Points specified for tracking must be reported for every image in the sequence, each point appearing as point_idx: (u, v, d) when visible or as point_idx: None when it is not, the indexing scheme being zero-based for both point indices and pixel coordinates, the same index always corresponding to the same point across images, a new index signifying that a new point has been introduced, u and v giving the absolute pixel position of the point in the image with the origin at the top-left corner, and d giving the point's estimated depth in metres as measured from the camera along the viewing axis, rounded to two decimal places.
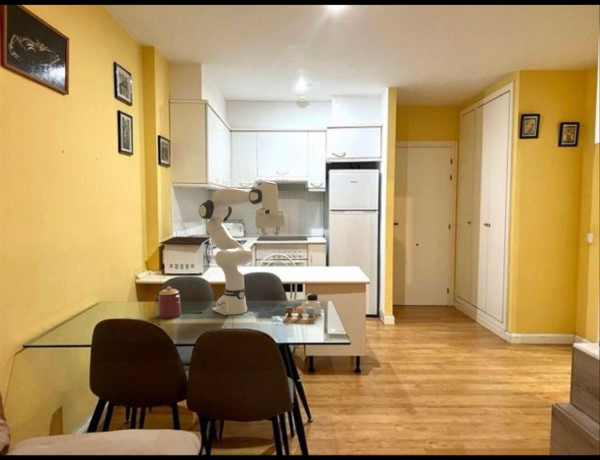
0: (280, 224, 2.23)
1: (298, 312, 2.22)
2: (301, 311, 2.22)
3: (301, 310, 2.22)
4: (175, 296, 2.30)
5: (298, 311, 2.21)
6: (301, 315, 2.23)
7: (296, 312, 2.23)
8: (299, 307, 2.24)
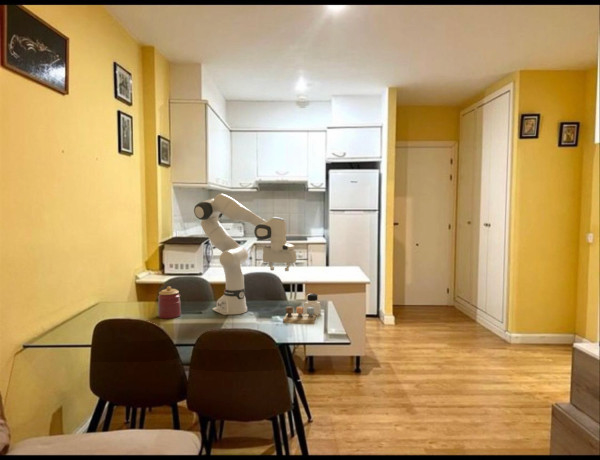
0: None
1: (298, 312, 2.22)
2: (301, 311, 2.22)
3: (301, 310, 2.22)
4: (175, 296, 2.30)
5: (298, 311, 2.21)
6: (301, 315, 2.23)
7: (296, 312, 2.23)
8: (299, 307, 2.24)
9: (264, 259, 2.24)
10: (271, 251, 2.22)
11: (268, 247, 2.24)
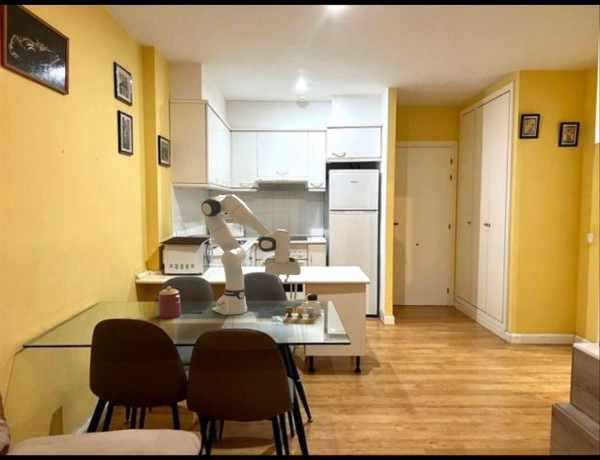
0: None
1: (298, 312, 2.22)
2: (301, 311, 2.22)
3: (301, 310, 2.22)
4: (175, 296, 2.30)
5: (298, 311, 2.21)
6: (301, 315, 2.23)
7: (296, 312, 2.23)
8: (299, 307, 2.24)
9: (267, 272, 2.23)
10: (275, 263, 2.22)
11: (271, 259, 2.24)
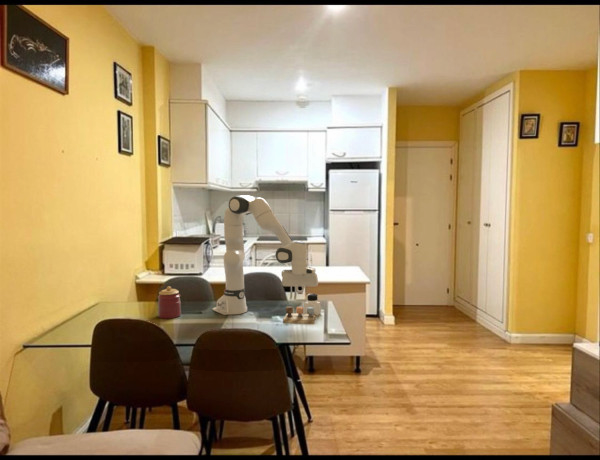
0: None
1: (298, 312, 2.22)
2: (301, 311, 2.22)
3: (301, 310, 2.22)
4: (175, 296, 2.30)
5: (298, 311, 2.21)
6: (301, 315, 2.23)
7: (296, 312, 2.23)
8: (299, 307, 2.24)
9: (284, 283, 2.22)
10: (292, 275, 2.21)
11: (288, 271, 2.23)
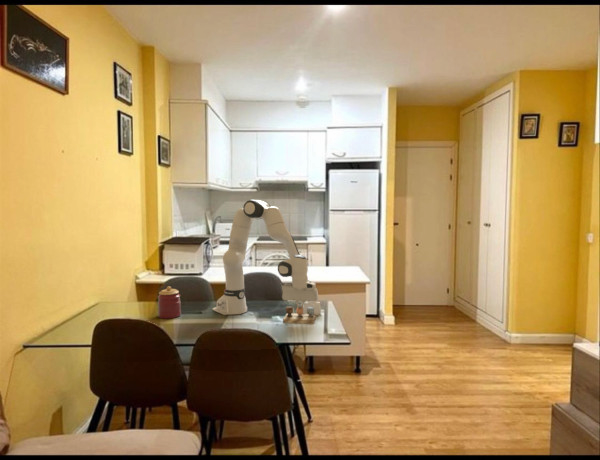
0: None
1: (298, 313, 2.22)
2: (301, 312, 2.22)
3: (301, 311, 2.22)
4: (175, 296, 2.30)
5: (298, 312, 2.22)
6: (301, 316, 2.23)
7: (296, 313, 2.23)
8: (299, 308, 2.24)
9: (284, 298, 2.23)
10: (292, 289, 2.22)
11: (288, 285, 2.23)
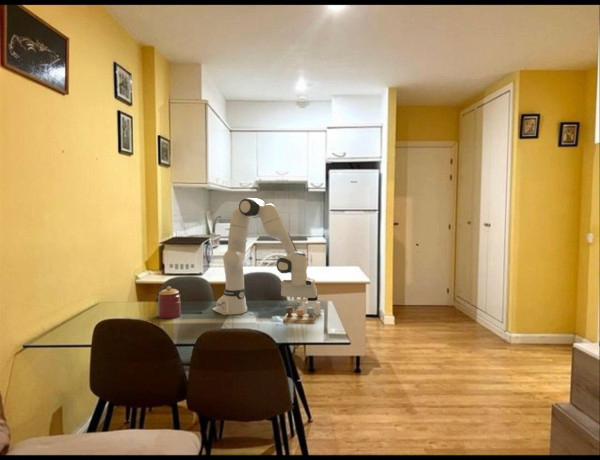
0: None
1: (298, 314, 2.22)
2: (301, 313, 2.22)
3: (301, 312, 2.22)
4: (175, 296, 2.30)
5: (298, 313, 2.22)
6: None
7: (296, 314, 2.23)
8: (299, 309, 2.24)
9: (283, 294, 2.22)
10: (291, 285, 2.21)
11: (287, 281, 2.23)
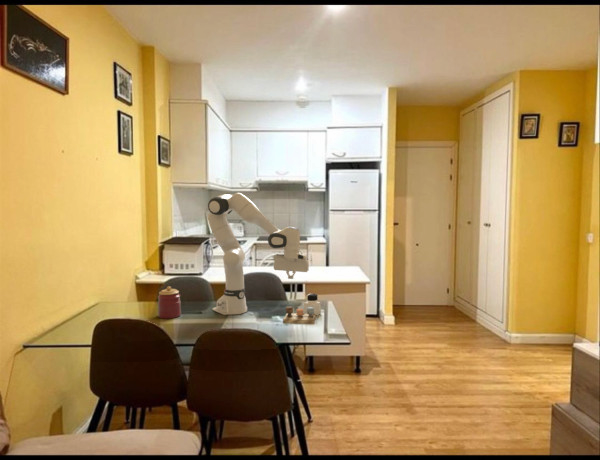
0: None
1: (298, 314, 2.22)
2: (301, 313, 2.22)
3: (301, 312, 2.22)
4: (175, 296, 2.30)
5: (298, 313, 2.22)
6: None
7: (296, 314, 2.23)
8: (299, 309, 2.24)
9: (275, 267, 2.28)
10: (284, 259, 2.27)
11: (280, 255, 2.29)
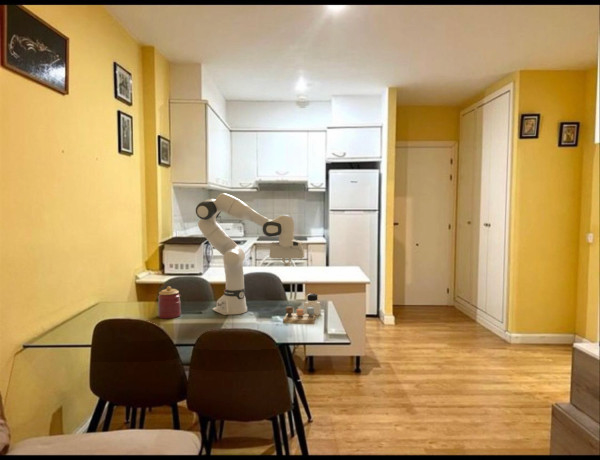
0: None
1: (298, 314, 2.22)
2: (301, 313, 2.22)
3: (301, 312, 2.22)
4: (175, 296, 2.30)
5: (298, 313, 2.22)
6: None
7: (296, 314, 2.23)
8: (299, 309, 2.24)
9: (271, 255, 2.32)
10: (279, 247, 2.31)
11: (275, 243, 2.32)
